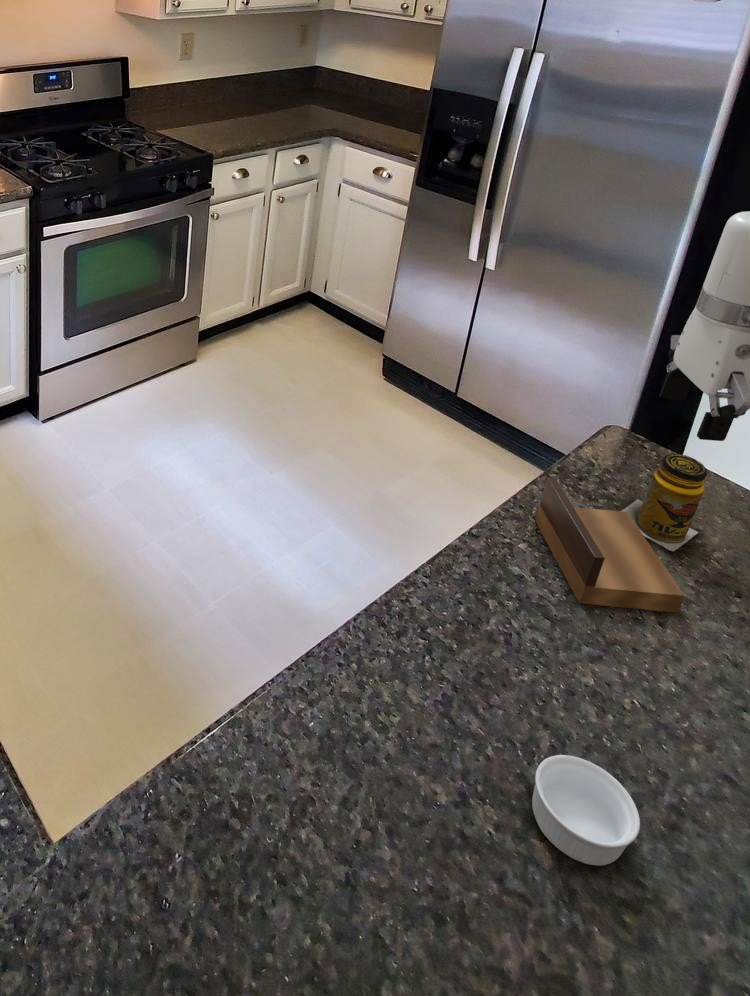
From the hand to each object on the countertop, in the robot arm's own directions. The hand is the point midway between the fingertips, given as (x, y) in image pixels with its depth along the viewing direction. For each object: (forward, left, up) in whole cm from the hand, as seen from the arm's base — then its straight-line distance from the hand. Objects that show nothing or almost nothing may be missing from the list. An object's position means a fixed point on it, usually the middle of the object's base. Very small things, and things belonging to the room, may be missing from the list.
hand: (690, 417), depth 110 cm
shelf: (+10, +9, -19) cm, 24 cm away
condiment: (-1, 0, -19) cm, 19 cm away
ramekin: (+28, +47, -19) cm, 58 cm away
